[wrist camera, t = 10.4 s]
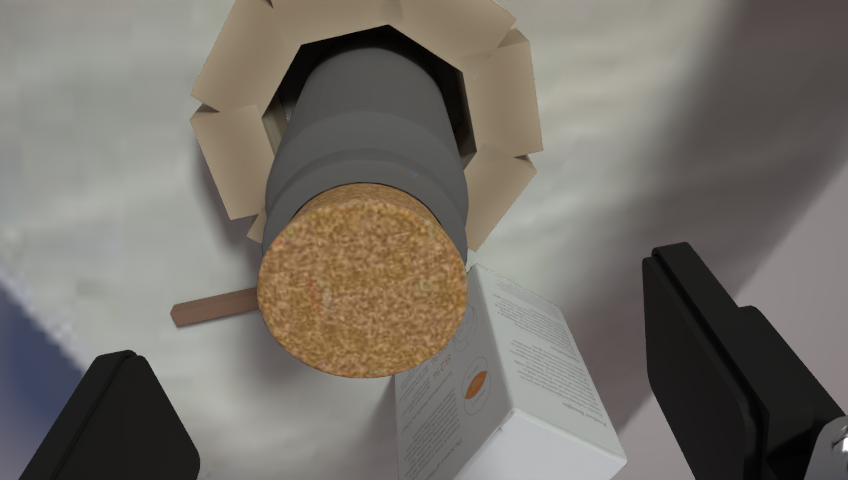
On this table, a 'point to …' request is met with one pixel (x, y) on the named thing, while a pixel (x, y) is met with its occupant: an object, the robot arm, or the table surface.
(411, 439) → the small box
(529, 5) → the table surface
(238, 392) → the table surface
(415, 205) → the bottle
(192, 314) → the brown wooden stick
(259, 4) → the segmented wooden ring
